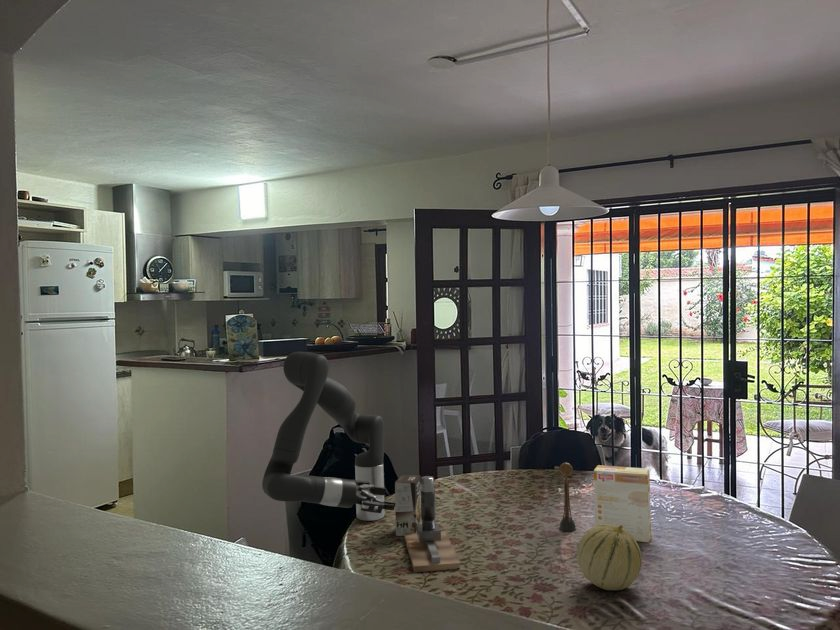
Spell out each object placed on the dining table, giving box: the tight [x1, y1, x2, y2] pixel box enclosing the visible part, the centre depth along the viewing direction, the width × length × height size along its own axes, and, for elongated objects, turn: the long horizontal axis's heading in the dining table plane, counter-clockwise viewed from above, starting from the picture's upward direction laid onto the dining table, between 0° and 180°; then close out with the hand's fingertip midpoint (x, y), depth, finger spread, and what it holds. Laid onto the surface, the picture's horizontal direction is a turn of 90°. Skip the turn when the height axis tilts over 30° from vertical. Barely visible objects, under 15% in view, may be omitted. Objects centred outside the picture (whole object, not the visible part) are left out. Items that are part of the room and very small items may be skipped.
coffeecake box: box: [593, 464, 652, 543], centre depth 181 cm, size 15×7×20 cm, turn 65°
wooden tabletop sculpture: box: [554, 462, 577, 532], centre depth 188 cm, size 6×5×20 cm
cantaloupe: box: [576, 524, 643, 591], centre depth 148 cm, size 15×15×15 cm
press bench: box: [404, 530, 461, 573], centre depth 172 cm, size 24×12×3 cm, turn 7°
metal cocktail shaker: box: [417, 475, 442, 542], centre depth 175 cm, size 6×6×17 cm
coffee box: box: [394, 474, 422, 537], centre depth 189 cm, size 9×6×16 cm
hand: (389, 498), depth 178 cm, fingers open, 8 cm apart
